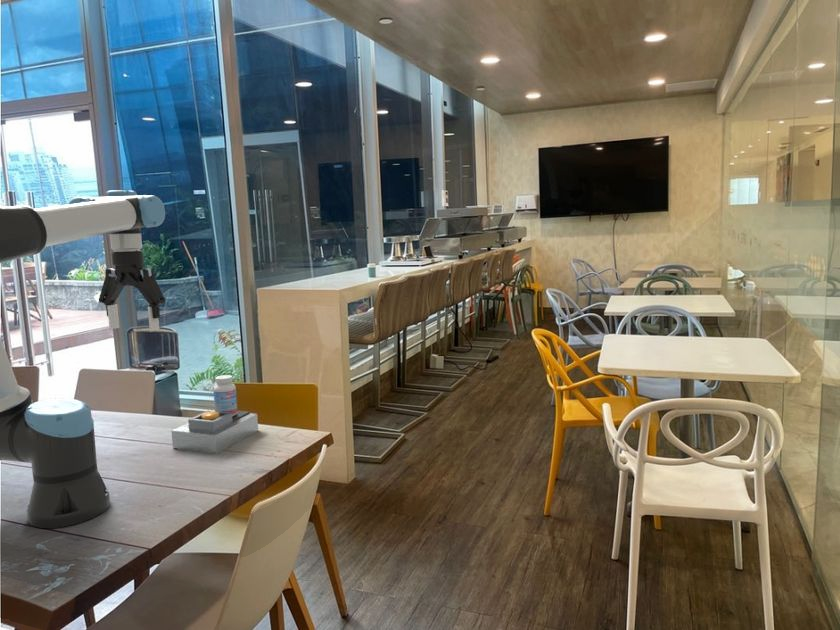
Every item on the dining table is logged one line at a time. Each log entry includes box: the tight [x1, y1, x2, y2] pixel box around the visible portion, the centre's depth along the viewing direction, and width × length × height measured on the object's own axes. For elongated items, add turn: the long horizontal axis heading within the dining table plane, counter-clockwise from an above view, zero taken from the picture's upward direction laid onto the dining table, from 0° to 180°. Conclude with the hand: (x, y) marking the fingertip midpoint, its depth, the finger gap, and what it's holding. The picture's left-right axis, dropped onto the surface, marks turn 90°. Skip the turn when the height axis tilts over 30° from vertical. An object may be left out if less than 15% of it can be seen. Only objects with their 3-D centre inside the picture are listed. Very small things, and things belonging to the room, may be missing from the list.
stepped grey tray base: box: [171, 410, 259, 455], centre depth 171 cm, size 19×14×8 cm
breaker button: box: [201, 412, 219, 421], centre depth 167 cm, size 4×4×8 cm
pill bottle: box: [213, 374, 238, 417], centre depth 175 cm, size 6×6×11 cm
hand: (134, 329), depth 165 cm, fingers open, 13 cm apart
